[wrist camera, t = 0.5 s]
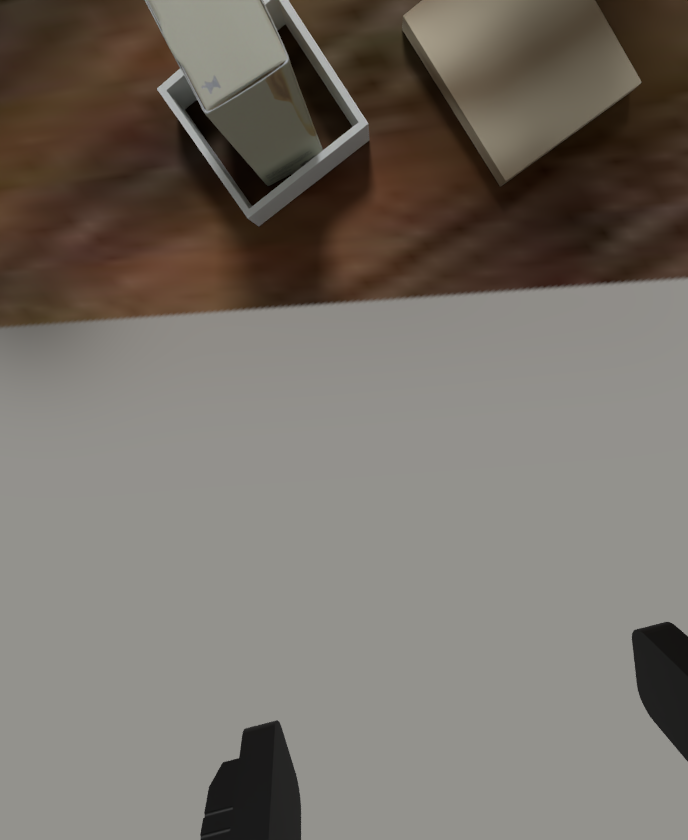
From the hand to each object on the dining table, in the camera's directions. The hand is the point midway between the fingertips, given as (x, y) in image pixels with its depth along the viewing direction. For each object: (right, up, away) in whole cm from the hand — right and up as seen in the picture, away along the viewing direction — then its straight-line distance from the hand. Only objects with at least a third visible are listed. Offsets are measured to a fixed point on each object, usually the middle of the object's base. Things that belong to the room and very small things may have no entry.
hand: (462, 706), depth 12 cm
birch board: (+8, +28, +20) cm, 35 cm away
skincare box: (-7, +25, +22) cm, 34 cm away
